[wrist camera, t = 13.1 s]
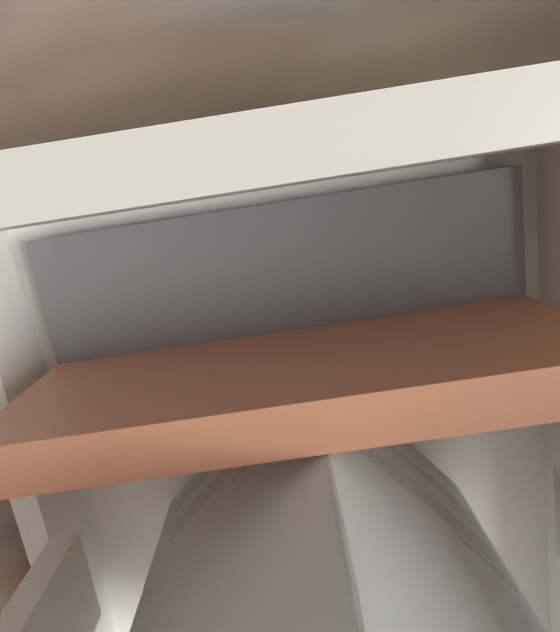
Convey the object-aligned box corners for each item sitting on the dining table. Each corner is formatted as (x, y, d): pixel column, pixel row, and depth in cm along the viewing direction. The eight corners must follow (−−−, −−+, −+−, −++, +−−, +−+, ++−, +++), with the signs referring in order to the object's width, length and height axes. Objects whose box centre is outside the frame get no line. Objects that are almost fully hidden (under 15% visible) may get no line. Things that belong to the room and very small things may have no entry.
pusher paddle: (73, 393, 16) (-38, 505, 11) (32, 240, 15) (-118, 271, 9) (519, 329, 16) (658, 407, 10) (513, 165, 15) (666, 149, 9)
